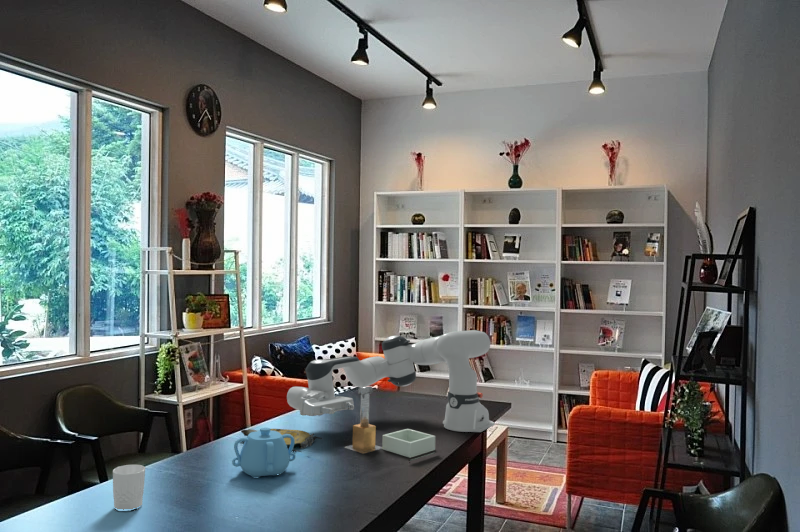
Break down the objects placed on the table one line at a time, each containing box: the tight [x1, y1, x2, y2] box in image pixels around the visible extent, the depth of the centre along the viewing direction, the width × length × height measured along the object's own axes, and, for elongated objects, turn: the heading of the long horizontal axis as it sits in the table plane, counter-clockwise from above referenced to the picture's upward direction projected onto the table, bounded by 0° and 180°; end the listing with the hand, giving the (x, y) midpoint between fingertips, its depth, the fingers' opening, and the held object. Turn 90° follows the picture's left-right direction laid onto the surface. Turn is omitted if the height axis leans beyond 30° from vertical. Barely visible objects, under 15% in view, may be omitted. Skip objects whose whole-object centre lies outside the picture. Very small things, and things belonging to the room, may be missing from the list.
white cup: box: [112, 464, 146, 510], centre depth 167 cm, size 8×8×10 cm
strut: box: [351, 385, 377, 451], centre depth 222 cm, size 6×6×21 cm
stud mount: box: [343, 444, 383, 455], centre depth 222 cm, size 10×10×8 cm
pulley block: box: [240, 428, 323, 453], centre depth 227 cm, size 14×6×30 cm
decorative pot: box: [231, 427, 297, 478], centre depth 197 cm, size 16×16×14 cm
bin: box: [381, 428, 436, 462], centre depth 221 cm, size 13×13×6 cm
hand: (343, 409), depth 229 cm, fingers open, 8 cm apart
